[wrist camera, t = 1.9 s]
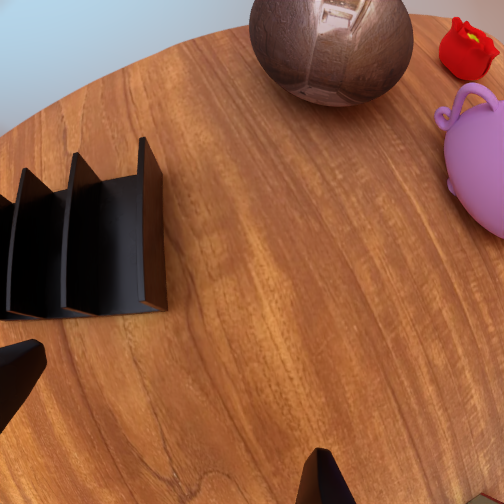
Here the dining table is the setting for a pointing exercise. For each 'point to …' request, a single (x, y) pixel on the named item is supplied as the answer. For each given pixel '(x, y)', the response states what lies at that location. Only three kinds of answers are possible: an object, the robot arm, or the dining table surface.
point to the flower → (467, 51)
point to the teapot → (476, 155)
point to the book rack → (84, 245)
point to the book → (484, 500)
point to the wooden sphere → (332, 47)
